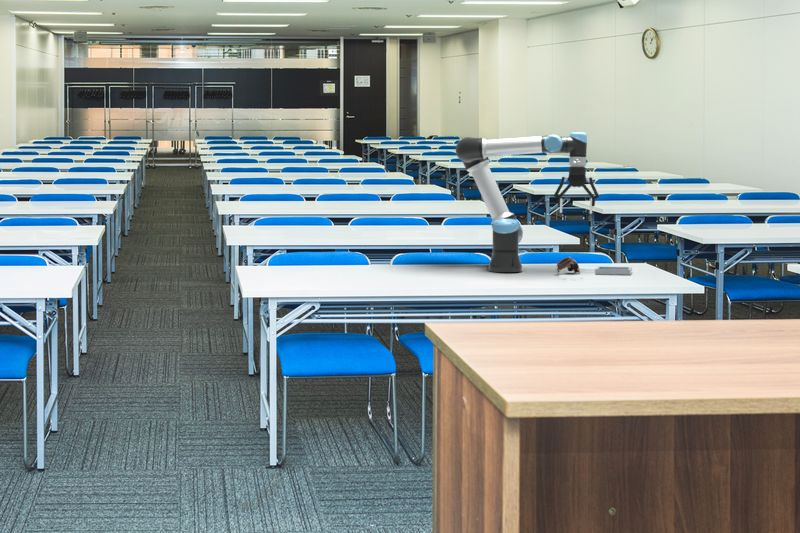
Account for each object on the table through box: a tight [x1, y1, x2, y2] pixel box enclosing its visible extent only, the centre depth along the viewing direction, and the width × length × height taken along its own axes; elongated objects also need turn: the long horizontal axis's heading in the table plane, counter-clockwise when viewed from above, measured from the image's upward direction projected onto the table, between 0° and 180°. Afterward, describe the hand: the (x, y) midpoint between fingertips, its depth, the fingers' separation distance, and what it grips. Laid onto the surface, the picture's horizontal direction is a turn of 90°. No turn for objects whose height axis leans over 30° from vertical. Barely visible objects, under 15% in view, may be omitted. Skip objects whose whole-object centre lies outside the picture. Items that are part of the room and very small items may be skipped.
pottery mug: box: [556, 256, 581, 274], centre depth 478 cm, size 12×9×8 cm
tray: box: [594, 266, 633, 276], centre depth 477 cm, size 15×16×2 cm
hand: (575, 213), depth 491 cm, fingers open, 13 cm apart
